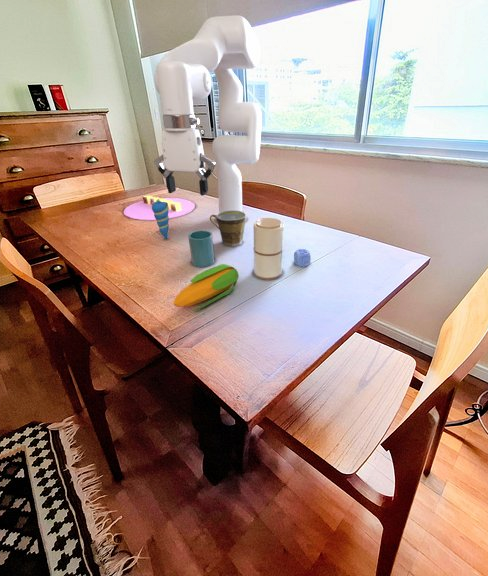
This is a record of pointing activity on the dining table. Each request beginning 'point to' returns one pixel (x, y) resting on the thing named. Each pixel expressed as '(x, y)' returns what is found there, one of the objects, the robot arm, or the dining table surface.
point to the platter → (146, 213)
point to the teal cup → (201, 248)
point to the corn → (208, 286)
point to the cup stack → (268, 248)
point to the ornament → (161, 217)
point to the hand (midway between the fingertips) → (187, 193)
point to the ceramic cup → (231, 226)
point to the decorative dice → (302, 257)
